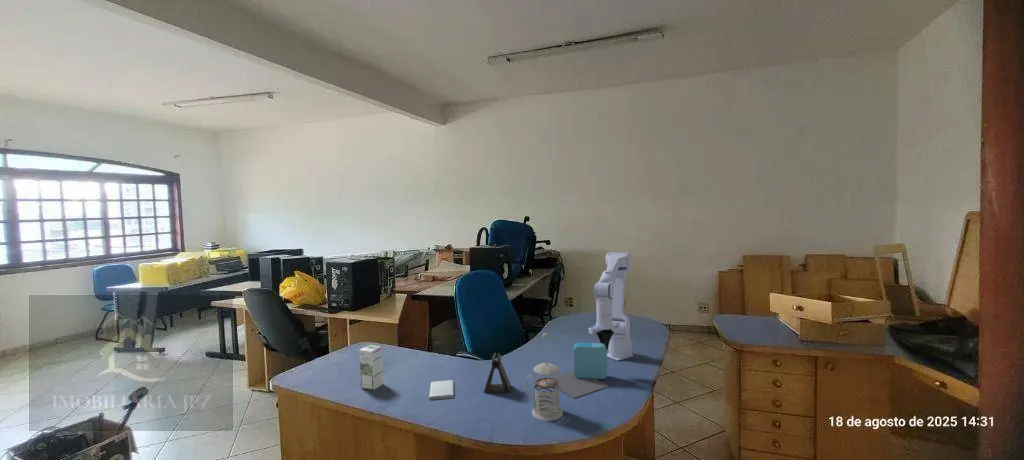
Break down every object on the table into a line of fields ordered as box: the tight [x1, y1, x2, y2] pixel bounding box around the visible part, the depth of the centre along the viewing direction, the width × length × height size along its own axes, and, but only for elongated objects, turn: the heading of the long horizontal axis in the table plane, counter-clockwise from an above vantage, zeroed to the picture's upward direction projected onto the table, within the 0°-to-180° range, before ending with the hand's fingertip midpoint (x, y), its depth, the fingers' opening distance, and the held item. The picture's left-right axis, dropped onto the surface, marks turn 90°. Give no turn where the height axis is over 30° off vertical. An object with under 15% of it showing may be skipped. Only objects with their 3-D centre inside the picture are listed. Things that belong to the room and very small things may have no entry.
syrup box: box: [358, 345, 384, 391], centre depth 147 cm, size 6×6×14 cm
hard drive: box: [428, 379, 454, 401], centre depth 142 cm, size 2×8×12 cm
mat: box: [547, 369, 610, 399], centre depth 145 cm, size 16×18×1 cm
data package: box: [573, 342, 608, 380], centre depth 150 cm, size 12×4×12 cm, turn 82°
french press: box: [524, 332, 564, 422], centre depth 124 cm, size 10×12×25 cm
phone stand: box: [483, 352, 511, 394], centre depth 142 cm, size 9×6×12 cm, turn 88°
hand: (604, 349), depth 152 cm, fingers closed
